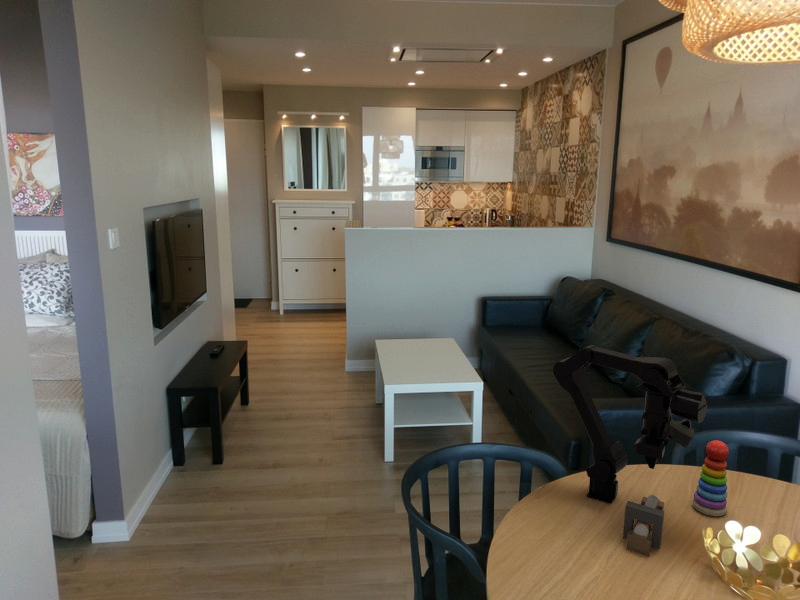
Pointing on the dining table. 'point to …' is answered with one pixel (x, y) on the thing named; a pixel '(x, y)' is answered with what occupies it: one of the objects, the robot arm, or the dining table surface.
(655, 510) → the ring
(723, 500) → the stacking toy
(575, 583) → the dining table surface
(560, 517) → the dining table surface
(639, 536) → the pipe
